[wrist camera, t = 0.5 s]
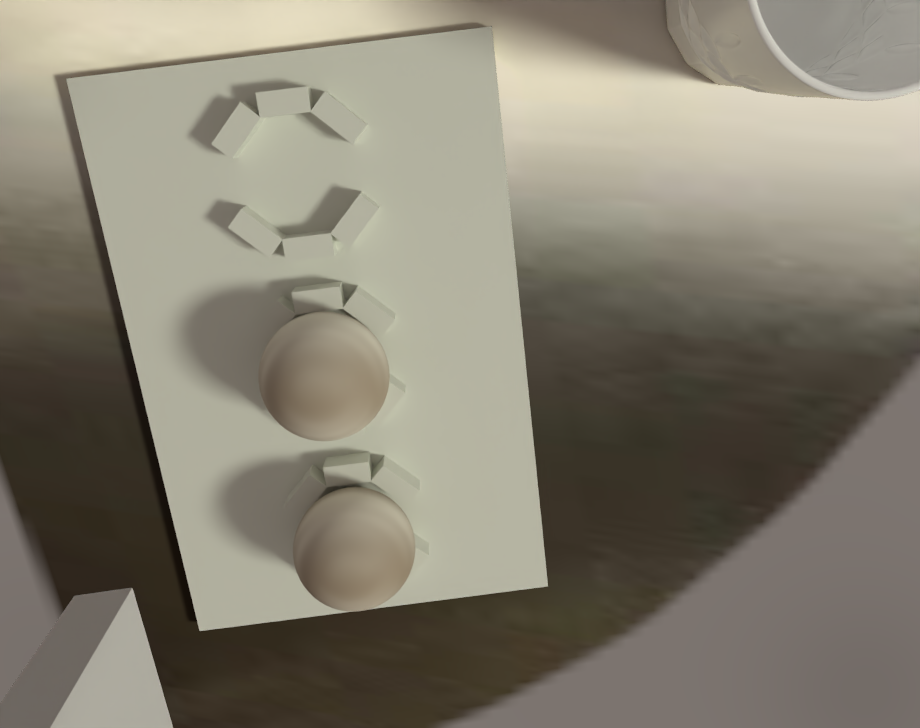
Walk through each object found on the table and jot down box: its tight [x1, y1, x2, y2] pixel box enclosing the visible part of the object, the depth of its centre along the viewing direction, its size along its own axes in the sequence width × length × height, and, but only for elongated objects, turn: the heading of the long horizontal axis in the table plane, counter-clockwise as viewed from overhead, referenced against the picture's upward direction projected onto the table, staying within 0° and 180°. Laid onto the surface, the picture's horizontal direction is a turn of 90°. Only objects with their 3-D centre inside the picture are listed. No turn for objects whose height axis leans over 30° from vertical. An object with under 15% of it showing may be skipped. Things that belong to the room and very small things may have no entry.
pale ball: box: [293, 487, 415, 611], centre depth 35 cm, size 5×5×5 cm
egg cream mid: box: [258, 312, 390, 441], centre depth 33 cm, size 5×5×5 cm
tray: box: [66, 26, 548, 631], centre depth 35 cm, size 24×16×2 cm, turn 7°
